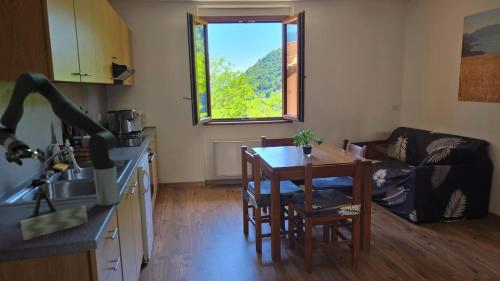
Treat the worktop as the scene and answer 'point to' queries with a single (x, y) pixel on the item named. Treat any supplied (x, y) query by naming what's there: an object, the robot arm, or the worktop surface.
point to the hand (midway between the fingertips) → (32, 162)
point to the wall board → (53, 222)
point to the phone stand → (37, 204)
